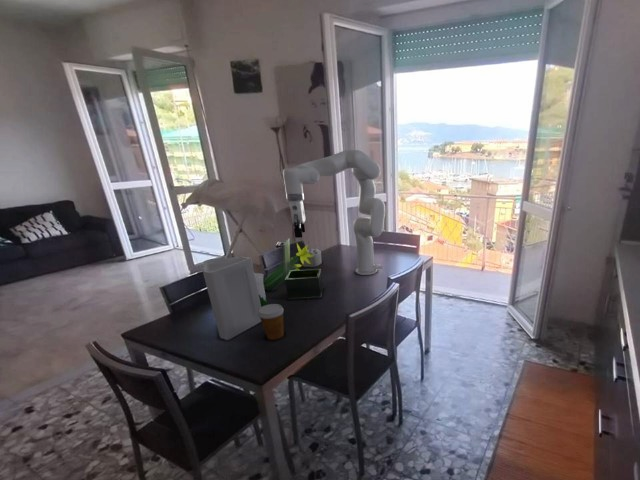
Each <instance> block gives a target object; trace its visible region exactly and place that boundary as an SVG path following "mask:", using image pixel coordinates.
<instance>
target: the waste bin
mask: <svg viewBox="0 0 640 480" xmlns="http://www.w3.org/2000/svg"><path fill="white" fill-rule="evenodd" d="M284 281H285V287H286V292H287V293H286V294H287V299H288V301H294V300H309V299H313V300H314V299H322V296H323V290H324V284H323V283H324V282H323V275H322V269H321V268H313V269H312V268H311V269H299V270H290V271H289V273H288V275H287V277H286V279H285V280H284Z"/></svg>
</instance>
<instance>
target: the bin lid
mask: <svg viewBox="0 0 640 480" xmlns="http://www.w3.org/2000/svg"><path fill="white" fill-rule="evenodd" d="M290 245H291V243H290V237H287V238H286V240H285V241H284V242H281V241H278V242H277V243H276V244H275V248H276V249H279V248H282V257H283V258H282V259H283V260H282V261H284V263H283V265H284V278H286V277H287V275H288V273H289V271H290V260H291V249H290V248H291V246H290ZM284 278H283V279H284Z"/></svg>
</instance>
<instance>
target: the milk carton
mask: <svg viewBox="0 0 640 480" xmlns="http://www.w3.org/2000/svg"><path fill="white" fill-rule="evenodd" d="M254 273H255V278H256V283H257V288H258V293H259V298H260V303H261V307H263V306H265V305H269V304H268V301H267V296H266V291H265V288H264V286H265V284H264V285H263V280H264V273H258V272H254Z"/></svg>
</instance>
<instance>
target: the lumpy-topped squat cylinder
mask: <svg viewBox="0 0 640 480" xmlns="http://www.w3.org/2000/svg"><path fill="white" fill-rule="evenodd" d="M307 251H308V254H311V255H313V257H307V259H308V260H309V262H310V263H311V264H309V263H307V262H306V261H305V260H304V263H303V264H302V263H301V265H302V267H309V268H314V267H315V268H316V267H319V266H320V265H321V264H322V263H323V262H322V261H323V260H322V252H321V250H320V249H317V248H310V249H307Z"/></svg>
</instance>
